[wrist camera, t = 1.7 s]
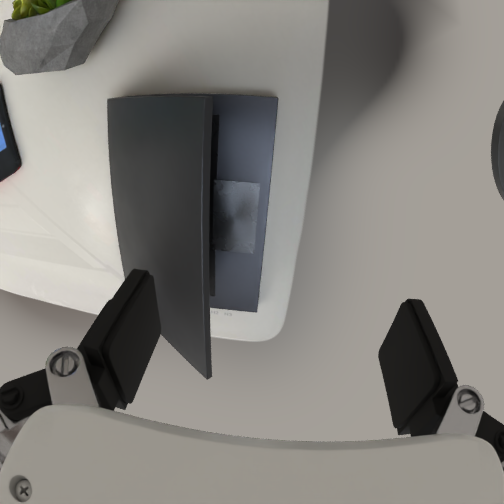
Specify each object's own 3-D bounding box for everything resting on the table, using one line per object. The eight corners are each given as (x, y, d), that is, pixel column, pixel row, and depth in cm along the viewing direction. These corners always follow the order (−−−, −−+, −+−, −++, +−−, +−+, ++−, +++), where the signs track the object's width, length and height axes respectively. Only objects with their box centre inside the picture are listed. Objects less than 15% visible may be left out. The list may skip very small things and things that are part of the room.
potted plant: (8, 62, 21) (25, -46, 11) (100, 51, 28) (127, -51, 18) (-12, 97, 16) (5, -54, 5) (110, 79, 23) (149, -62, 13)
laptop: (278, 97, 27) (278, 97, 26) (257, 304, 40) (256, 313, 39) (120, 97, 28) (113, 98, 26) (137, 290, 41) (133, 297, 39)
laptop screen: (215, 96, 17) (204, 96, 16) (212, 376, 30) (207, 380, 29) (114, 98, 26) (107, 98, 26) (133, 297, 39) (128, 299, 39)
